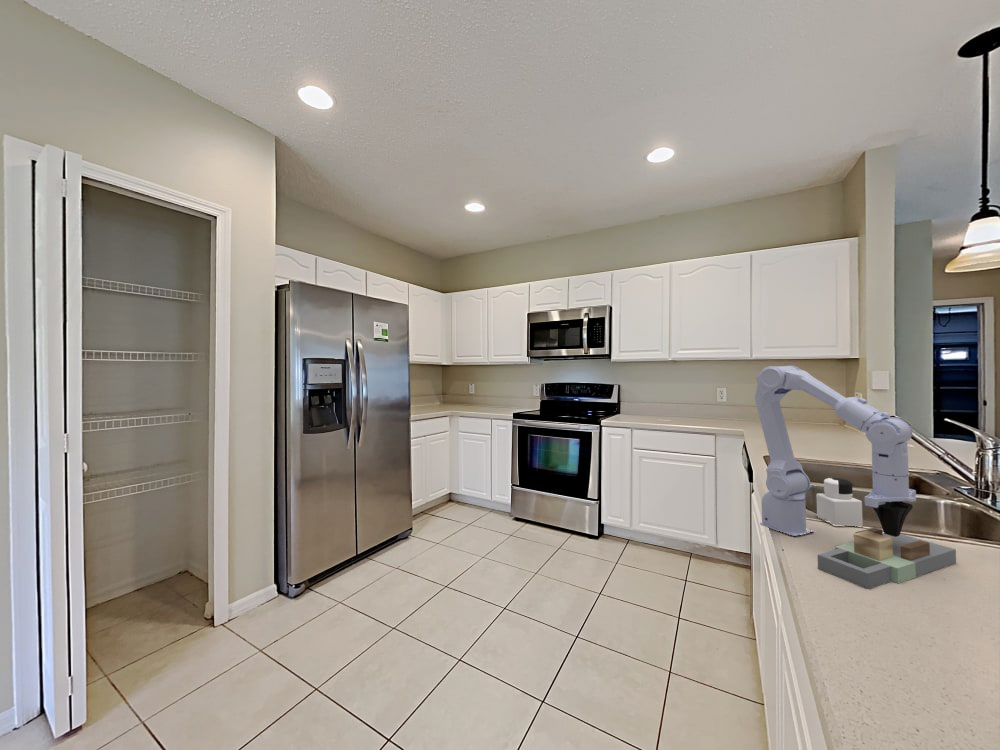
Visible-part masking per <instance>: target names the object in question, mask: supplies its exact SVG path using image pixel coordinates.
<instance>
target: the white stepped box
mask: <svg viewBox="0 0 1000 750" xmlns="http://www.w3.org/2000/svg"><path fill="white" fill-rule="evenodd" d="M853 490H854V489H853V483H852V482H851V481H849V480H848V479H844V478H840V477H838V478H837V477H828V478H825V479H823V491H824V493H816V517H817V516H819V517H820V518H823V519H824V518H825V519H827V520H828V521H830V522H831V523H833V524H835V525H847V526H855V527H854V528H857V527H856V526H864V524H863V523H864V521H863V519H864V518H863V501H862V500H860V499H857V498H855V497H853V495H854V494H853V492H854V491H853Z"/></svg>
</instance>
